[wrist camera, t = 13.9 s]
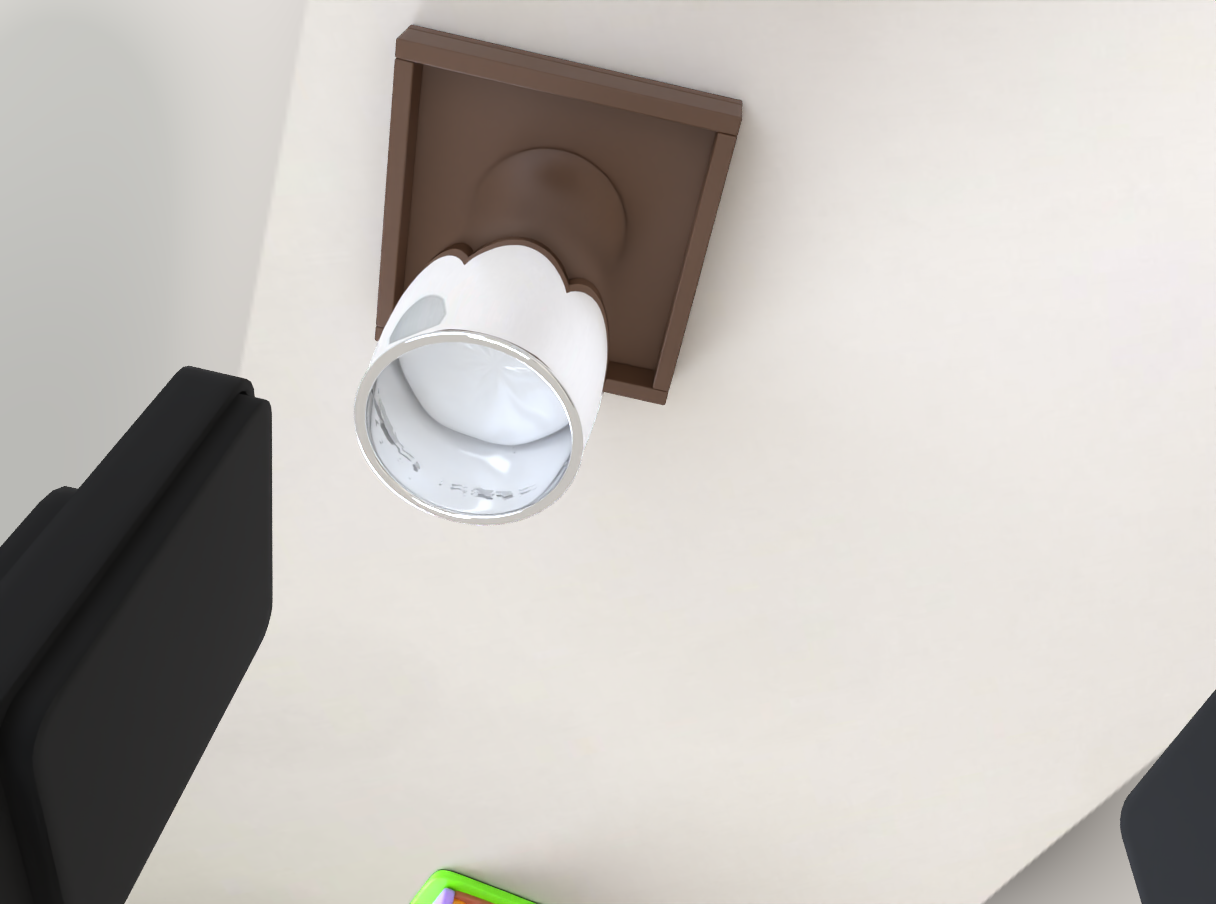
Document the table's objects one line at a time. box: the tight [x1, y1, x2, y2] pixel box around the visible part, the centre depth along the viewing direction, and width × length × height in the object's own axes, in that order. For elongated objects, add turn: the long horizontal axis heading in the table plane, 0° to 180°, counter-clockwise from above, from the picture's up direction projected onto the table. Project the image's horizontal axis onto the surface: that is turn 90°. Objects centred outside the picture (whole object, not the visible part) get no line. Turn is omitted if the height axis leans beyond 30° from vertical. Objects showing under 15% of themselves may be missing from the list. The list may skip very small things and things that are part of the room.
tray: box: [375, 25, 742, 405], centre depth 42 cm, size 12×12×2 cm
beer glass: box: [354, 148, 626, 525], centre depth 36 cm, size 7×7×15 cm
